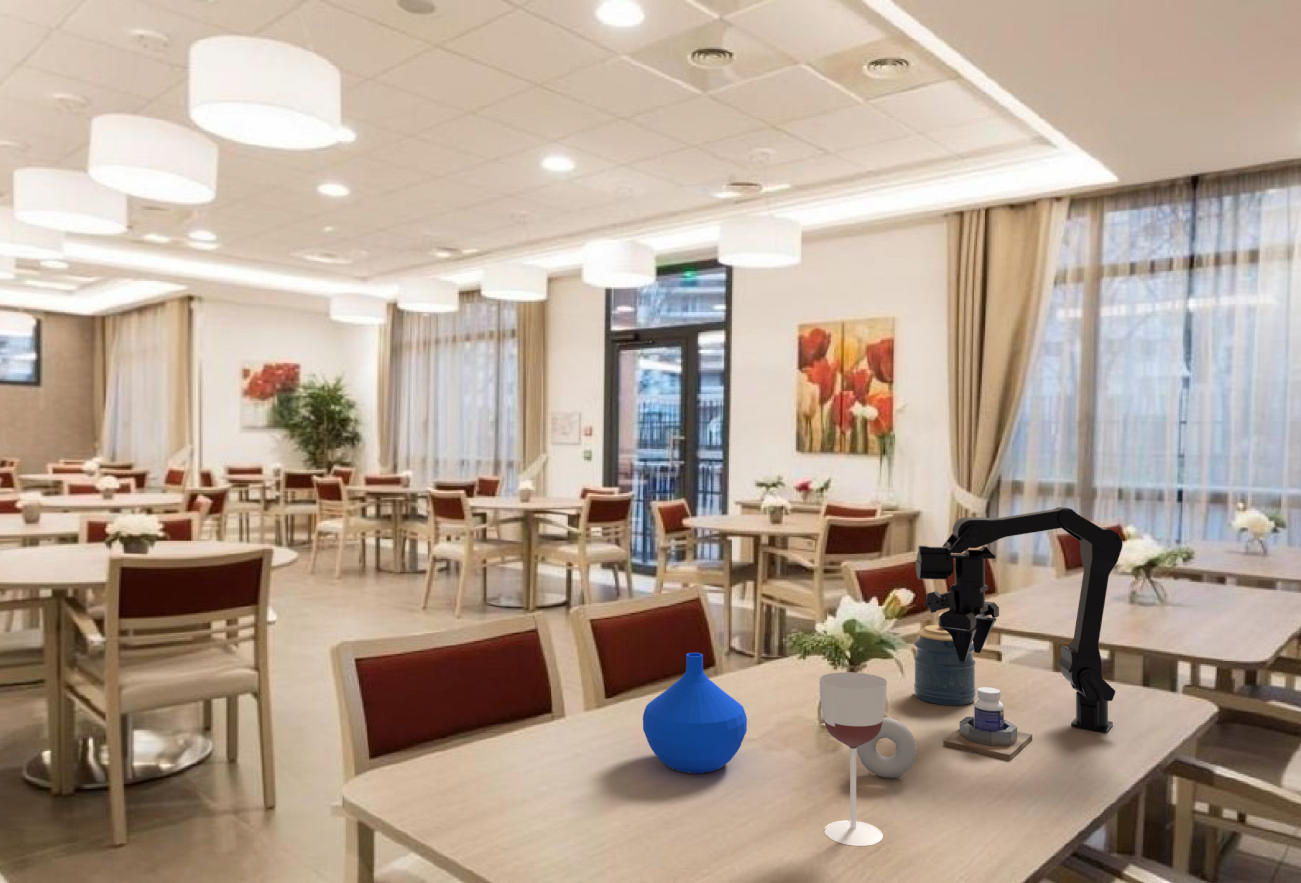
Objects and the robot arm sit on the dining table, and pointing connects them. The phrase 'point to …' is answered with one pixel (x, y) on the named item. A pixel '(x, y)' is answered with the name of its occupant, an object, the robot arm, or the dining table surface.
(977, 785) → the dining table surface
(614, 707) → the dining table surface
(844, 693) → the wineglass
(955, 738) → the tan board
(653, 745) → the vase
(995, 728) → the pill bottle
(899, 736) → the donut
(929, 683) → the canister
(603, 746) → the dining table surface
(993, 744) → the ring collar
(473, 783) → the dining table surface
